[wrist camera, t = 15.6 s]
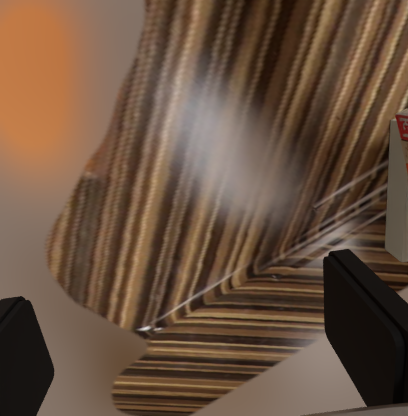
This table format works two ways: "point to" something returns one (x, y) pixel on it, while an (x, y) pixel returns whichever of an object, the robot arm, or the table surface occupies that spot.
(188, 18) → the table surface
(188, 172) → the table surface
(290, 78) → the table surface
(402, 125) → the stack of blocks
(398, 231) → the base block
